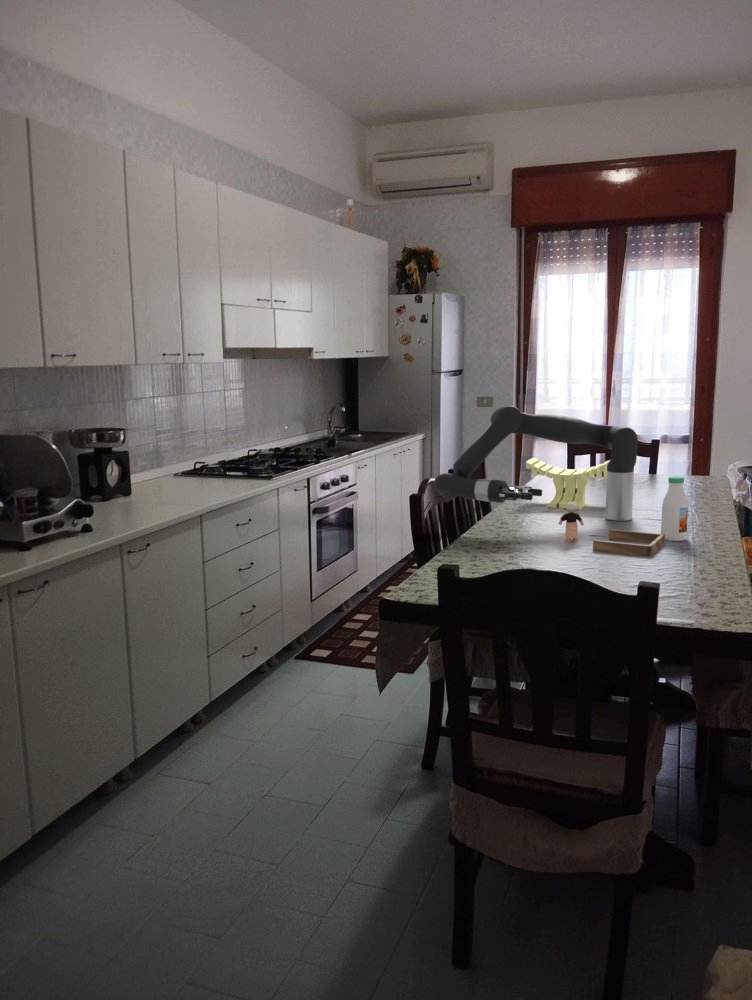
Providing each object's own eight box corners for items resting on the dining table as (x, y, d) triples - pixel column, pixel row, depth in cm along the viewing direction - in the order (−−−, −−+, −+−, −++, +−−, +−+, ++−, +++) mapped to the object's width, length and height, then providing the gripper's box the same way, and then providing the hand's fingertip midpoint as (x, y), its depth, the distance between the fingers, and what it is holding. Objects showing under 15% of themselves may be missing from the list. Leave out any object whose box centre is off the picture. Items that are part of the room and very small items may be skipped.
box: (609, 538, 256) (610, 529, 256) (664, 543, 247) (664, 534, 247) (592, 550, 241) (593, 540, 241) (650, 556, 232) (650, 546, 232)
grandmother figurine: (580, 539, 256) (581, 500, 254) (584, 541, 252) (585, 502, 250) (557, 539, 256) (557, 501, 254) (560, 542, 252) (560, 503, 250)
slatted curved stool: (609, 503, 315) (610, 458, 312) (603, 510, 301) (605, 464, 298) (534, 499, 327) (535, 456, 324) (525, 506, 313) (525, 461, 310)
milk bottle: (670, 542, 249) (673, 479, 245) (655, 537, 256) (658, 476, 253) (691, 540, 251) (694, 478, 247) (676, 535, 258) (679, 474, 255)
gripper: (482, 482, 259) (529, 486, 251) (499, 476, 271) (545, 480, 263) (481, 504, 261) (528, 509, 252) (499, 498, 273) (544, 502, 264)
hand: (537, 494), depth 258 cm, fingers open, 8 cm apart
